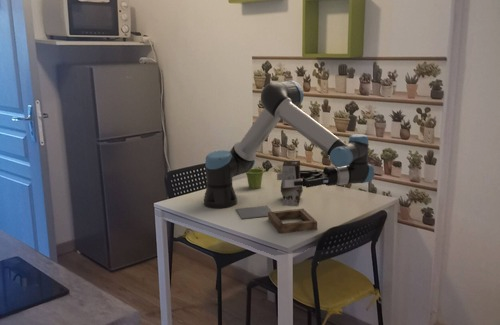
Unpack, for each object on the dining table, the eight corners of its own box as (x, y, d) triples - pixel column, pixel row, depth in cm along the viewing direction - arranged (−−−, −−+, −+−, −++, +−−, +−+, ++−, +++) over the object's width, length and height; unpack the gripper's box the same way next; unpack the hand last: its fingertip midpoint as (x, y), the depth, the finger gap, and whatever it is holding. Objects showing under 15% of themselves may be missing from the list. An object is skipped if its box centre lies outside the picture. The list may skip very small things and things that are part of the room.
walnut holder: (279, 233, 187) (279, 225, 186) (268, 219, 203) (268, 212, 203) (317, 229, 190) (317, 221, 189) (303, 215, 206) (303, 208, 206)
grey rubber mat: (241, 219, 204) (241, 218, 204) (235, 209, 216) (235, 208, 216) (274, 215, 207) (274, 214, 207) (267, 206, 219) (266, 205, 219)
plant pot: (265, 185, 254) (265, 168, 252) (262, 190, 245) (261, 173, 243) (248, 184, 256) (247, 168, 254) (243, 189, 247) (243, 172, 245)
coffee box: (298, 206, 189) (298, 165, 186) (282, 206, 191) (281, 165, 187) (300, 199, 198) (300, 160, 195) (284, 199, 199) (284, 160, 196)
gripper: (346, 192, 186) (289, 197, 181) (324, 177, 208) (273, 182, 203) (346, 173, 184) (289, 178, 180) (324, 160, 206) (273, 164, 201)
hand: (281, 180), depth 191 cm, fingers closed on coffee box, 10 cm apart
